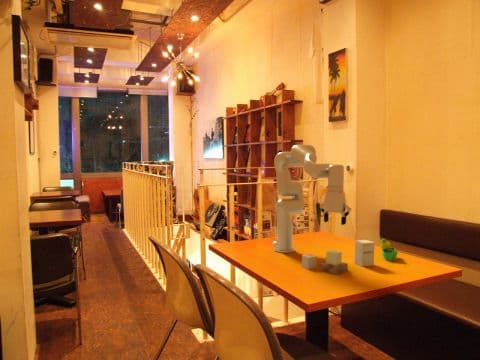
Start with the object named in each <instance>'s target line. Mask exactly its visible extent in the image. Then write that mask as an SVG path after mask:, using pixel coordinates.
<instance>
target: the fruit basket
mask: <svg viewBox="0 0 480 360" xmlns="http://www.w3.org/2000/svg"><path fill="white" fill-rule="evenodd" d="M379 244H380V250H381V253H382V258H383V259H384V261H390V262H391V261H392V262H394V261H396V259H397V257H398V255H399V251H398V250H397V249H396V248H395V247H392V246H391V245H392V244H391V243H390V242H389V241H388V240H387V239H385V238H381V239H380V241H379Z"/></svg>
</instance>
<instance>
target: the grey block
mask: <svg viewBox="0 0 480 360" xmlns="http://www.w3.org/2000/svg"><path fill="white" fill-rule="evenodd" d="M317 265H318V256H316V255H314V254H311V253H309V254H301V267H302V268H304V269H307V270H311V269H317V268H318V266H317Z"/></svg>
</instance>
